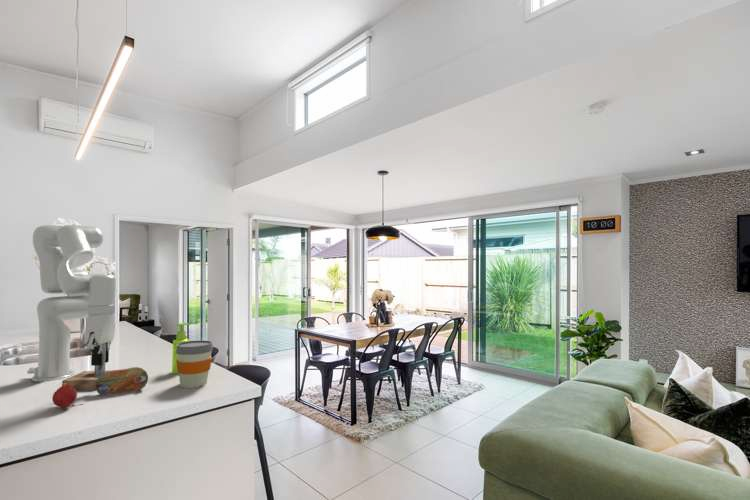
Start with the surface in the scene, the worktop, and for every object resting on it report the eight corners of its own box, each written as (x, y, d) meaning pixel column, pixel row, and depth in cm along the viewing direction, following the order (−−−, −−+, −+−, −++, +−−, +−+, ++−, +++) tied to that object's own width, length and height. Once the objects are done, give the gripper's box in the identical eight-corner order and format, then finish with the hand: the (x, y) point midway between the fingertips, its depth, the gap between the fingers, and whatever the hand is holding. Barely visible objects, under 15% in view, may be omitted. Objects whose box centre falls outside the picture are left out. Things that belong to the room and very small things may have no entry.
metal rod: (92, 378, 129) (93, 336, 129) (97, 375, 132) (98, 335, 132) (101, 377, 129) (103, 336, 130) (106, 375, 132) (108, 335, 133)
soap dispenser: (193, 370, 160) (194, 322, 161) (179, 374, 154) (181, 324, 155) (182, 368, 162) (183, 321, 163) (168, 372, 156) (170, 324, 157)
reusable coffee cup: (219, 381, 145) (220, 342, 145) (191, 391, 133) (192, 348, 134) (196, 377, 150) (197, 339, 151) (167, 386, 139) (168, 345, 139)
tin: (95, 399, 125) (96, 373, 126) (95, 396, 128) (96, 371, 128) (147, 390, 134) (148, 366, 135) (146, 388, 137) (147, 364, 137)
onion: (61, 405, 119) (62, 379, 120) (80, 405, 120) (81, 379, 120) (47, 412, 113) (48, 385, 114) (67, 412, 114) (68, 385, 114)
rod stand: (61, 392, 131) (62, 380, 132) (83, 381, 143) (84, 371, 144) (99, 391, 133) (99, 379, 133) (117, 380, 145) (118, 370, 145)
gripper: (103, 308, 139) (102, 358, 138) (74, 313, 123) (72, 370, 122) (125, 307, 140) (124, 357, 139) (99, 313, 124) (97, 369, 123)
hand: (100, 363), depth 131 cm, fingers closed on metal rod, 3 cm apart
